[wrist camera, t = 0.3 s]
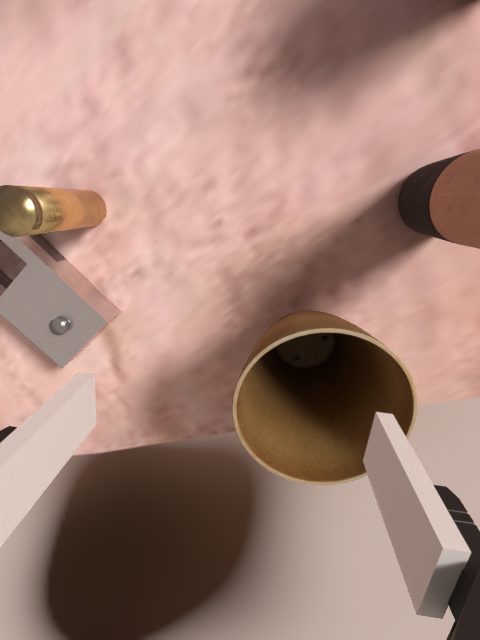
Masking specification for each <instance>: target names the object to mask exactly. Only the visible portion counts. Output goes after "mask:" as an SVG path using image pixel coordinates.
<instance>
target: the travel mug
mask: <svg viewBox="0 0 480 640" xmlns="http://www.w3.org/2000/svg"><path fill="white" fill-rule="evenodd" d="M399 212H400V215H401V217H402V219H403V221H404V222H405V224H406V225H407V226H408V227H410V228H411V229H413V230H414V231H417V232H419V233H422V234H425V235H429V236H432V237H436V238H439V239H442V240H446V241H449V242H452V243H456V244H460V245H465V246H470V247H474V248H479V249H480V149H476V150H473V151H470V152H466V153H463V154H460V155H457V156H454V157H451V158H447V159H444V160H441V161H438V162H435V163H432V164H429V165H426V166H424V167H422V168H420V169H419V170H417V171H416V172H414V173H413V174H412V175H411V176H410V177H409V178H408V180H407V181H406V182H405V184H404V186H403V188H402V190H401V193H400V196H399Z"/></svg>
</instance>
